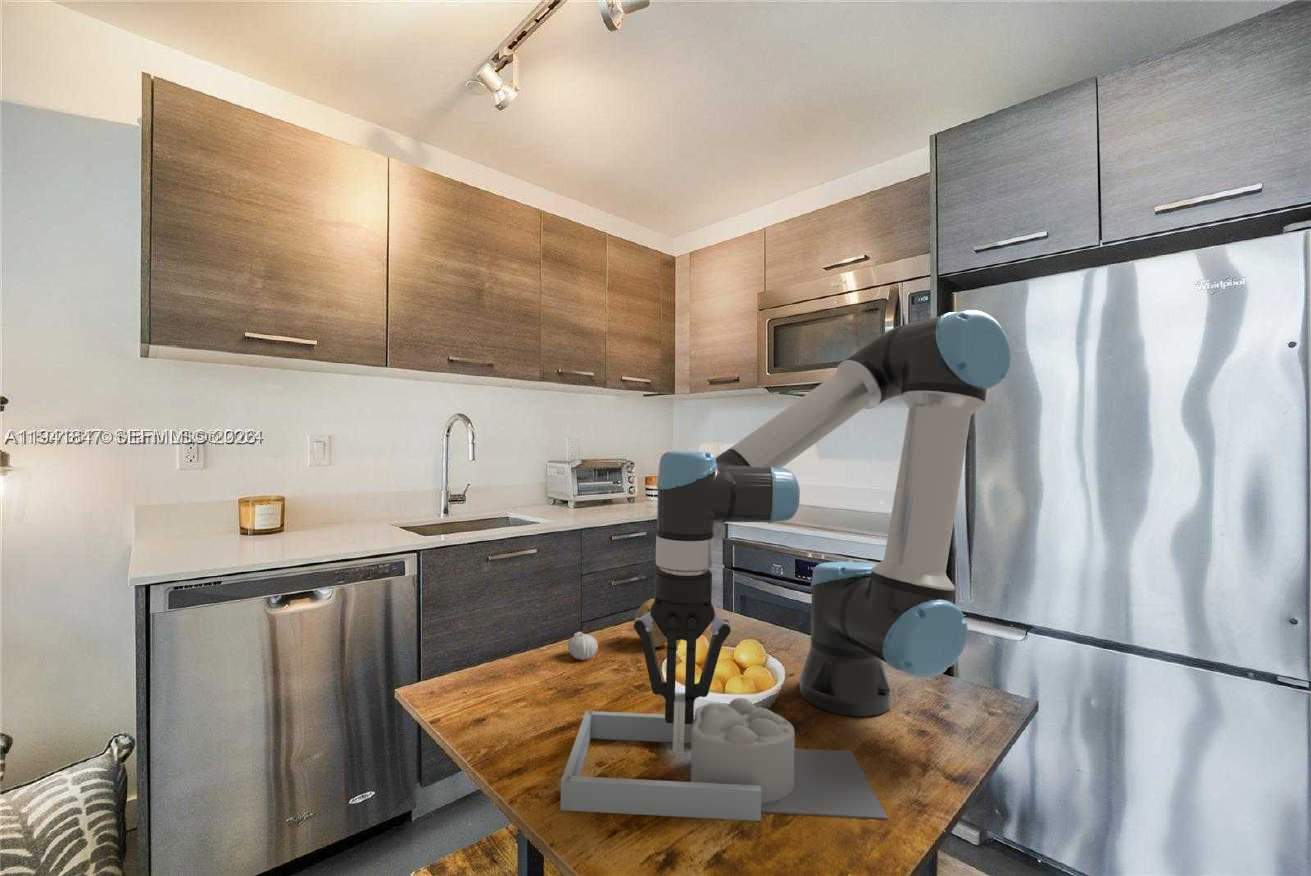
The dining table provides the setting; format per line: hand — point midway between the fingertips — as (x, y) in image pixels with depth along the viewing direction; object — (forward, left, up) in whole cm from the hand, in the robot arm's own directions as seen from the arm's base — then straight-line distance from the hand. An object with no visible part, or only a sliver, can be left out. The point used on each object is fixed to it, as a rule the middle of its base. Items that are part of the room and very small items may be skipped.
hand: (678, 746), depth 75 cm
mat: (-16, 0, -4) cm, 17 cm away
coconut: (+5, -45, -4) cm, 45 cm away
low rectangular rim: (+2, 0, -4) cm, 4 cm away
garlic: (+19, -37, -4) cm, 42 cm away
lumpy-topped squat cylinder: (-8, +1, -4) cm, 9 cm away
